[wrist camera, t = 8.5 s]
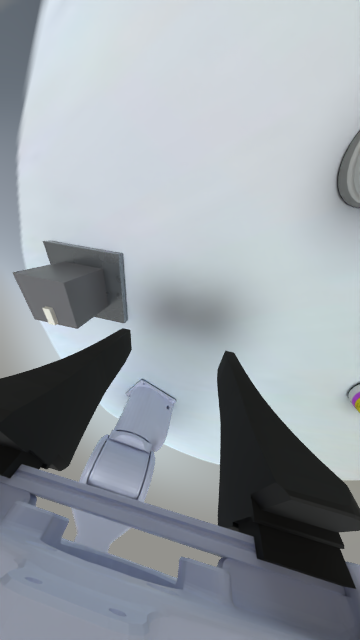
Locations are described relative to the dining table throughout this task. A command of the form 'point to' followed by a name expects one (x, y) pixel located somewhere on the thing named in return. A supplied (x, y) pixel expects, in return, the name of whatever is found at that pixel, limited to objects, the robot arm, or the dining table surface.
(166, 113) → the dining table surface
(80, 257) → the plate
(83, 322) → the grey cube with tab
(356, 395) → the supplement bottle
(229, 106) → the dining table surface
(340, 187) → the travel mug
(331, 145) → the dining table surface
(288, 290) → the dining table surface
